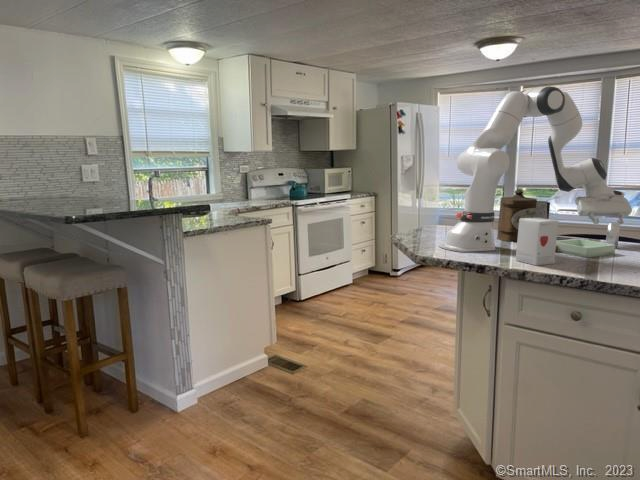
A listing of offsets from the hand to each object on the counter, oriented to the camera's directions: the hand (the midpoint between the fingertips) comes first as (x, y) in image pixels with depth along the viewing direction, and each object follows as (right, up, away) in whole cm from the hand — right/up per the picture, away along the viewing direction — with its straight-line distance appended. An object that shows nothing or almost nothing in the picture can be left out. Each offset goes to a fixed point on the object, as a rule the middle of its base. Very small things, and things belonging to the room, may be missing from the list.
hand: (608, 223), depth 190 cm
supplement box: (-43, -15, -28) cm, 54 cm away
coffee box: (-18, -5, +25) cm, 31 cm away
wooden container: (-31, -7, +16) cm, 36 cm away
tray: (-17, -11, -11) cm, 23 cm away
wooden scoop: (-31, -11, -11) cm, 35 cm away
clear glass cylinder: (0, -10, -2) cm, 10 cm away
